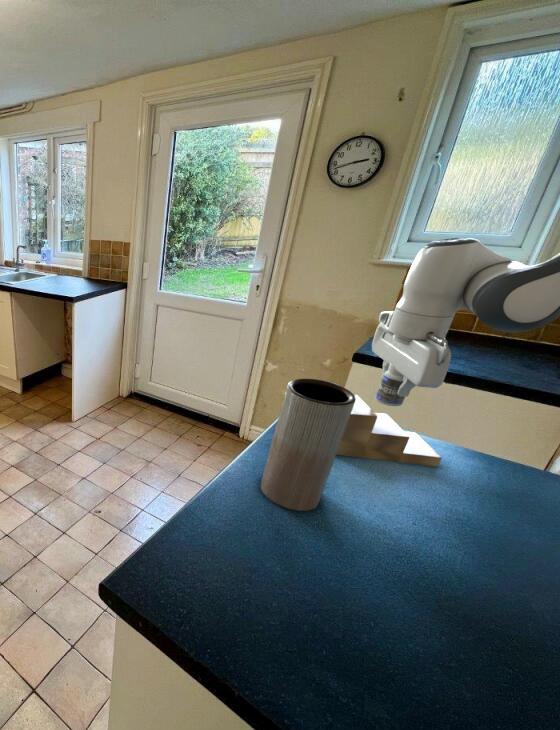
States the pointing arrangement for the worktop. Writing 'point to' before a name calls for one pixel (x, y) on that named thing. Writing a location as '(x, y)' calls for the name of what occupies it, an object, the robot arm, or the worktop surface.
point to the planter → (306, 442)
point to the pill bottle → (390, 388)
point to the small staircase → (383, 439)
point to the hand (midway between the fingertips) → (393, 388)
